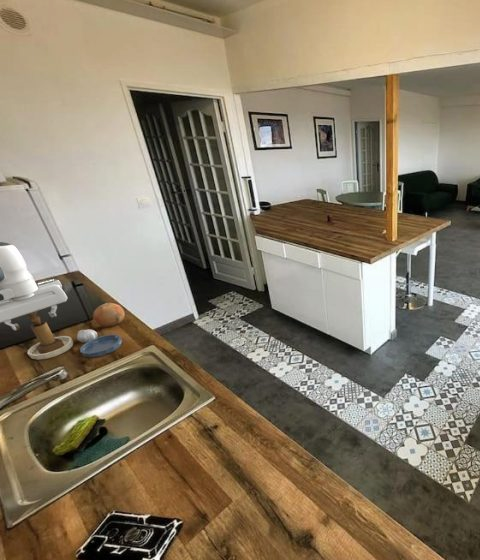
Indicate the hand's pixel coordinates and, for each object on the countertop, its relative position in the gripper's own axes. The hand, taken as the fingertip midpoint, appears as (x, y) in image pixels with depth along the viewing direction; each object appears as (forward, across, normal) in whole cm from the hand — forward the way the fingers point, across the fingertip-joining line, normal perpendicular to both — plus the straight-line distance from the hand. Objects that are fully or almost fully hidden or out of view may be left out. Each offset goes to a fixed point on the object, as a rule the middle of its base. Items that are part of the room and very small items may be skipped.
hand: (35, 322), depth 110 cm
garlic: (+12, -10, +5) cm, 17 cm away
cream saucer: (+12, -1, 0) cm, 12 cm away
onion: (+12, -20, 0) cm, 23 cm away
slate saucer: (+12, -10, +15) cm, 22 cm away
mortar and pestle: (+12, -1, 0) cm, 12 cm away
